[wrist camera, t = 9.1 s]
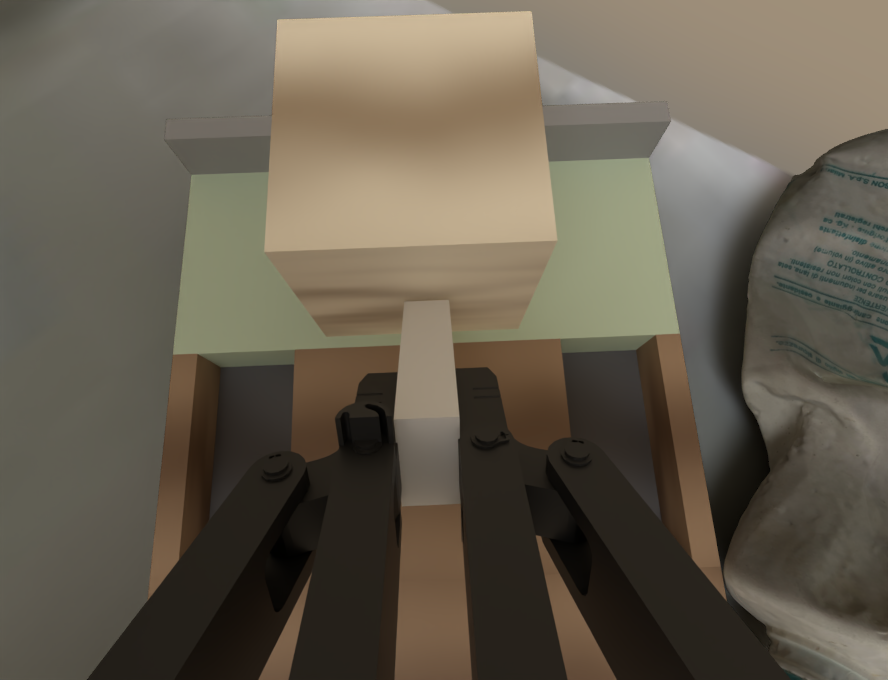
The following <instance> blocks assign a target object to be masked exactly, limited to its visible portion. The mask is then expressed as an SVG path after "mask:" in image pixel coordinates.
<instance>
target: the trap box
mask: <svg viewBox="0 0 888 680" xmlns="http://www.w3.org/2000/svg"><path fill="white" fill-rule="evenodd" d="M453 350H454V361H455V368H478V367H488V368H489V369H490V370H491V371H492V372H493V373H494V374H495V375H496V376H497V380H498V385H499V390H500V394H501V399H502V404H503V408H504V413H505V418H506V422H507V427H508V430H509V431H510V432H511V433H512V435H513V437H514V439H516V440H517V441H519V442H520V443H522V444H524V445H527V446H530V447H534V448H538V449H544V450H548V447H549V446H550V445H551V444H552V443H553V442H554V441H556V440H559V439H561V438H568V437H576V438H582V439H586V440H588V441H591V442H593V443H595V444H596V445H597V446H599V447H600V448H601V449H602V450H603V451H604V452H605V453H606V455H607V456H608V457H609V458H610V460H611V461H612V462H613V463H614V464H615V466H616V467H617V468H618V469H619V471H620V472H621V473H622V474H623V475H624V477H625V478H626V479H627V480H628V481H629V483H630V484H631V485H632V486H633V488H634V489H635V490H636V491H637V492H638V494H639V495H640V496H641V497H642V499H643V500H644V501H645V502H646V503H647V505H648V506H649V507H650V508H651V510H652V511H653V512H654V513H655V514H656V516H657V517H658V518H659V519H660V520H661V522H662V523H663V524H664V525H665V527H666V528H667V529H668V530H669V531H670V533H671V534H672V535H673V536H674V538H675V539H676V540H677V541H678V542H679V544H680V545H681V546H682V547H683V549H684V550H685V551H686V552H687V553H688V555H689V556H690V557H691V558H692V559H693V561H694V562H695V563H696V564H697V566H698V567H699V568H700V569H701V570H702V572H703V573H704V574H705V575H706V577H707V578H708V579H709V580H710V581H711V583H712V584H713V585H714V586H715V587H716V589H717V590H718V591H719V592H720V594H721V595H722V596H723V597H724V598H725V600H726V594H725V588H724V583H723V577H722V571H721V566H720V560H719V554H718V548H717V543H716V537H715V531H714V526H713V520H712V514H711V509H710V503H709V497H708V492H707V486H706V480H705V474H704V469H703V463H702V457H701V452H700V446H699V440H698V435H697V429H696V423H695V418H694V412H693V406H692V401H691V395H690V389H689V383H688V378H687V372H686V366H685V361H684V355H683V349H682V344H681V338H680V334H661V335H660V334H659V335H655V336H654V337H652V338H651V339H650V340H648V341H647V342H646V343H644V344H643V345H642V346H640V347H639V348H638V349H637V350H623V351H599V352H575V353H562V350H561V341H560V339H537V340H515V341H514V340H513V341H490V342H465V343H453ZM399 354H400V345H393V346H369V347H344V348H320V349H296V350H295V357H294V364H288V365H264V366H240V367H219V366H218V365H216V364H214V363H213V362H211V361H209V360H207V359H206V358H204V357H202V356H200V355H199V354H175V355H173V359H172V369H171V379H170V388H169V398H168V408H167V417H166V427H165V437H164V446H163V456H162V466H161V475H160V485H159V495H158V504H157V514H156V524H155V533H154V543H153V553H152V562H151V572H150V582H149V591H148V600H149V598H150V597H151V596H152V594H153V593H154V592H155V590H156V589H157V588H158V586H159V585H160V584H161V583H162V581H163V580H164V579H165V577H166V576H167V575H168V573H169V572H170V571H171V570H172V568H173V567H174V566H175V564H176V563H177V562H178V560H179V559H180V558H181V557H182V555H183V554H184V553H185V551H186V550H187V549H188V547H189V546H190V545H191V543H192V542H193V541H194V540H195V538H196V537H197V536H198V534H199V533H200V532H201V530H202V529H203V528H204V527H205V525H206V524H207V523H208V521H209V520H210V519H211V517H212V516H213V515H214V513H215V512H216V511H217V510H218V508H219V507H220V506H221V504H222V503H223V502H224V500H225V499H226V498H227V497H228V495H229V494H230V493H231V491H232V490H233V489H234V487H235V486H236V485H237V484H238V482H239V481H240V480H241V478H242V477H243V476H244V474H245V473H246V472H247V470H248V469H249V468H250V467H251V466H252V465H253V464H254V463H255V462H256V461H257V460H258V459H260V458H262V457H264V456H266V455H268V454H271V453H275V452H279V451H291V452H295V453H298V454H300V455H301V456H302V457H303V458H304V459H305V462H310V461H314V460H317V459H321V458H324V457H326V456H329V455H331V454H333V453H334V452H336V451H337V450H338V449H339V443H338V436H337V430H336V424H335V417H336V415H337V413H338V412H339V411H340V410H342V409H343V408H344V407H345V406H348V405H350V404H353V403H355V399H356V396H357V389H358V385H359V382H360V381H361V380H362V379H363V378H364V377H365V376H366V375H367V374H368V373H388V372H398V365H399ZM401 517H402V535H401V556H400V577H399V598H398V619H397V639H396V660H395V680H472V672H471V657H470V643H469V628H468V614H467V599H466V585H465V570H464V556H463V542H462V540H461V504H445V505H423V506H402V503H401ZM536 539H537V543H538V548H539V552H540V557H541V561H542V566H543V570H544V575H545V579H546V584H547V588H548V593H549V597H550V602H551V606H552V611H553V616H554V620H555V625H556V629H557V634H558V638H559V643H560V647H561V652H562V656H563V661H564V665H565V670H566V674H567V679H568V680H617V679H616V677H615V676H614V674H613V672H612V670H611V668H610V666H609V664H608V663H607V661H606V659H605V657H604V655H603V653H602V651H601V650H600V648H599V646H598V644H597V642H596V640H595V639H594V637H593V635H592V633H591V631H590V629H589V627H588V626H587V624H586V622H585V620H584V618H583V616H582V614H581V613H580V611H579V609H578V607H577V605H576V603H575V602H574V600H573V598H572V596H571V594H570V592H569V590H568V589H567V587H566V585H565V583H564V581H563V579H562V577H561V576H560V574H559V572H558V570H557V568H556V566H555V565H554V563H553V561H552V559H551V557H550V555H549V553H548V552H547V550H546V548H545V546H544V544H543V542H542V538H541V536H537V535H536ZM311 574H312V573H311ZM310 578H311V575H310V577H309V579H308V581H307V583H306V585H305V587H304V589H303V591H302V593H301V595H300V597H299V599H298V601H297V603H296V605H295V607H294V609H293V611H292V613H291V615H290V617H289V619H288V621H287V623H286V625H285V627H284V629H283V631H282V633H281V635H280V637H279V639H278V641H277V643H276V645H275V647H274V649H273V651H272V653H271V655H270V657H269V659H268V661H267V663H266V665H265V667H264V669H263V671H262V673H261V675H260V677H259V679H258V680H289V675H290V670H291V666H292V661H293V656H294V652H295V647H296V643H297V638H298V633H299V629H300V624H301V620H302V615H303V610H304V606H305V601H306V597H307V592H308V587H309V583H310ZM726 601H727V600H726Z"/></svg>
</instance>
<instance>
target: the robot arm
mask: <svg viewBox="0 0 888 680" xmlns="http://www.w3.org/2000/svg"><path fill="white" fill-rule="evenodd" d="M335 424H336V430H337V436H338V443H339V449H338V450H337V451H336V452H334V453H333V454H331V455H329V456H326V457H324V458H321V459H317V460H314V461H310V462H305V459H304V458H303V457H302V456H301V455H300V454H298V453H295V452H291V451H279V452H275V453H271V454H268V455H266V456H264V457H262V458H260V459H258V460H257V461H256V462H255V463H254V464H253V465H252V466H251V467H250V468H249V469H248V470H247V472H246V473H245V474H244V476H243V477H242V478H241V480H240V481H239V482H238V484H237V485H236V486H235V487H234V489H233V490H232V491H231V493H230V494H229V495H228V497H227V498H226V499H225V500H224V502H223V503H222V504H221V506H220V507H219V508H218V510H217V511H216V512H215V513H214V515H213V516H212V517H211V519H210V520H209V521H208V523H207V524H206V525H205V527H204V528H203V529H202V530H201V532H200V533H199V534H198V536H197V537H196V538H195V540H194V541H193V542H192V543H191V545H190V546H189V547H188V549H187V550H186V551H185V553H184V554H183V555H182V557H181V558H180V559H179V560H178V562H177V563H176V564H175V566H174V567H173V568H172V570H171V571H170V572H169V573H168V575H167V576H166V577H165V579H164V580H163V581H162V583H161V584H160V585H159V586H158V588H157V589H156V590H155V592H154V593H153V594H152V596H151V597H150V598H149V600H148V601H147V602H146V603H145V605H144V606H143V607H142V609H141V610H140V611H139V613H138V614H137V615H136V616H135V618H134V619H133V620H132V622H131V623H130V624H129V626H128V627H127V628H126V630H125V631H124V632H123V633H122V635H121V636H120V637H119V639H118V640H117V641H116V643H115V644H114V645H113V646H112V648H111V649H110V650H109V652H108V653H107V654H106V656H105V657H104V658H103V660H102V661H101V662H100V663H99V665H98V666H97V667H96V669H95V670H94V671H93V673H92V674H91V675H90V676H89V678H88V679H87V680H258V679H259V677H260V675H261V673H262V671H263V669H264V667H265V665H266V663H267V661H268V659H269V657H270V655H271V653H272V651H273V649H274V647H275V645H276V643H277V641H278V639H279V637H280V635H281V633H282V631H283V629H284V627H285V625H286V623H287V621H288V619H289V617H290V615H291V613H292V611H293V609H294V607H295V605H296V603H297V601H298V599H299V597H300V595H301V593H302V591H303V589H304V587H305V585H306V583H307V581H308V579H309V577H310V575H311V578H310V583H309V587H308V592H307V597H306V601H305V606H304V610H303V615H302V620H301V624H300V629H299V633H298V638H297V643H296V647H295V652H294V656H293V661H292V666H291V670H290V675H289V680H395V660H396V639H397V619H398V598H399V577H400V556H401V535H402V517H401V503H402V506H423V505H445V504H461V540H462V542H463V556H464V570H465V585H466V599H467V614H468V628H469V643H470V657H471V672H472V680H568V679H567V674H566V670H565V665H564V661H563V656H562V652H561V647H560V643H559V638H558V634H557V629H556V625H555V620H554V616H553V611H552V606H551V602H550V597H549V593H548V588H547V584H546V579H545V575H544V570H543V566H542V561H541V557H540V552H539V548H538V543H537V539H536V535H537V536H541V538H542V542H543V544H544V546H545V548H546V550H547V552H548V553H549V555H550V557H551V559H552V561H553V563H554V565H555V566H556V568H557V570H558V572H559V574H560V576H561V577H562V579H563V581H564V583H565V585H566V587H567V589H568V590H569V592H570V594H571V596H572V598H573V600H574V602H575V603H576V605H577V607H578V609H579V611H580V613H581V614H582V616H583V618H584V620H585V622H586V624H587V626H588V627H589V629H590V631H591V633H592V635H593V637H594V639H595V640H596V642H597V644H598V646H599V648H600V650H601V651H602V653H603V655H604V657H605V659H606V661H607V663H608V664H609V666H610V668H611V670H612V672H613V674H614V676H615V677H616V679H617V680H791V679H790V678H789V676H788V675H787V674H786V673H785V672H784V670H783V669H782V668H781V667H780V665H779V664H778V663H777V662H776V661H775V659H774V658H773V657H772V656H771V655H770V653H769V652H768V651H767V650H766V648H765V647H764V646H763V645H762V644H761V642H760V641H759V640H758V639H757V637H756V636H755V635H754V634H753V633H752V631H751V630H750V629H749V628H748V626H747V625H746V624H745V623H744V622H743V620H742V619H741V618H740V617H739V616H738V614H737V613H736V612H735V611H734V609H733V608H732V607H731V606H730V605H729V603H728V602H727V601H726V600H725V598H724V597H723V596H722V595H721V594H720V592H719V591H718V590H717V589H716V587H715V586H714V585H713V584H712V583H711V581H710V580H709V579H708V578H707V577H706V575H705V574H704V573H703V572H702V570H701V569H700V568H699V567H698V566H697V564H696V563H695V562H694V561H693V559H692V558H691V557H690V556H689V555H688V553H687V552H686V551H685V550H684V549H683V547H682V546H681V545H680V544H679V542H678V541H677V540H676V539H675V538H674V536H673V535H672V534H671V533H670V531H669V530H668V529H667V528H666V527H665V525H664V524H663V523H662V522H661V520H660V519H659V518H658V517H657V516H656V514H655V513H654V512H653V511H652V510H651V508H650V507H649V506H648V505H647V503H646V502H645V501H644V500H643V499H642V497H641V496H640V495H639V494H638V492H637V491H636V490H635V489H634V488H633V486H632V485H631V484H630V483H629V481H628V480H627V479H626V478H625V477H624V475H623V474H622V473H621V472H620V471H619V469H618V468H617V467H616V466H615V464H614V463H613V462H612V461H611V460H610V458H609V457H608V456H607V455H606V453H605V452H604V451H603V450H602V449H601V448H600V447H599V446H597V445H596V444H595V443H593V442H591V441H588V440H586V439H582V438H576V437H568V438H561V439H559V440H556V441H554V442H553V443H552V444H551V445H550V446H549V447H548V450H544V449H538V448H534V447H530V446H527V445H524V444H522V443H520V442H519V441H517V440H516V439H514V437H513V435H512V433H511V432H510V431H509V430H508V427H507V422H506V418H505V413H504V408H503V404H502V399H501V394H500V390H499V385H498V380H497V376H496V375H495V374H494V373H493V372H492V371H491V370H490V369H489V368H488V367H478V368H455V361H454V350H453V339H452V328H451V316H450V305H449V300H431V301H406V302H404V310H403V321H402V332H401V343H400V354H399V365H398V372H388V373H368V374H367V375H366V376H365V377H364V378H363V379H362V380H361V381H360V382H359V385H358V389H357V396H356V399H355V403H353V404H350V405H348V406H345V407H344V408H343V409H342V410H340V411H339V412H338V413H337V415H336V417H335ZM311 573H312V574H311Z"/></svg>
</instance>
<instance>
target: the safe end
mask: <svg viewBox="0 0 888 680" xmlns="http://www.w3.org/2000/svg"><path fill="white" fill-rule="evenodd" d="M542 108H543V117H544V126H545V135H546V143H547V152H548V161H549V170H550V178H551V187H552V196H553V205H554V214H555V222H556V231H557V240H558V241H557V243H556V245H555V248H554V250H553V252H552V254H551V256H550V259H549V261H548V263H547V265H546V268H545V270H544V272H543V274H542V277H541V279H540V281H539V283H538V286H537V288H536V290H535V292H534V295H533V297H532V299H531V301H530V304H529V306H528V308H527V310H526V313H525V315H524V317H523V319H522V322H521V324H520V326H519V328H518V329H504V330H480V331H455V332H452V339H453V343H465V342H490V341H513V340H514V341H515V340H537V339H560V341H561V350H562V353H575V352H599V351H623V350H637V349H638V348H639V347H640V346H642V345H643V344H644V343H646V342H647V341H648V340H650V339H651V338H652V337H654V336H655V335H659V334H660V335H661V334H680V332H679V327H678V321H677V315H676V310H675V304H674V298H673V292H672V287H671V281H670V275H669V270H668V264H667V258H666V253H665V247H664V241H663V236H662V230H661V224H660V218H659V213H658V207H657V201H656V196H655V190H654V184H653V179H652V173H651V167H650V162H649V157H650V155H651V153H652V152H653V150H654V149H655V147H656V145H657V144H658V142H659V140H660V139H661V137H662V135H663V134H664V132H665V130H666V129H667V127H668V125H669V124H670V122H671V119H670V114H669V108H668V103H667V101H663V102H633V103H605V104H577V105H549V106H542ZM271 124H272V115H269V116H241V117H213V118H185V119H166V128H165V136H164V140H165V142H166V143H167V144H168V145H169V147H170V148H171V149H172V150H173V152H174V153H175V154H176V156H177V157H178V158H179V159H180V161H181V162H182V163H183V165H184V166H185V167H186V168H187V170H188V171H189V172H190V173H191V175H192V176H191V185H190V195H189V205H188V214H187V224H186V234H185V243H184V253H183V263H182V272H181V282H180V292H179V301H178V311H177V321H176V330H175V340H174V350H173V355H175V354H199V355H200V356H202V357H204V358H206V359H207V360H209V361H211V362H213V363H214V364H216V365H218V366H219V367H240V366H264V365H288V364H294V357H295V350H296V349H320V348H344V347H369V346H393V345H400V343H401V334H382V335H358V336H333V337H326V336H325V334H324V333H323V332H322V330H321V329H320V327H319V326H318V325H317V323H316V322H315V321H314V319H313V318H312V317H311V315H310V314H309V312H308V311H307V310H306V308H305V307H304V306H303V304H302V303H301V302H300V300H299V299H298V297H297V296H296V295H295V293H294V292H293V291H292V289H291V288H290V287H289V285H288V284H287V282H286V281H285V280H284V278H283V277H282V276H281V274H280V273H279V272H278V270H277V269H276V267H275V266H274V265H273V263H272V262H271V261H270V259H269V258H268V257H267V255H266V254H265V252H264V246H265V229H266V211H267V194H268V176H269V159H270V141H271Z"/></svg>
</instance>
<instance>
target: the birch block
mask: <svg viewBox="0 0 888 680" xmlns="http://www.w3.org/2000/svg"><path fill="white" fill-rule="evenodd" d="M557 241H558V240H557V231H556V222H555V214H554V205H553V196H552V187H551V178H550V170H549V161H548V152H547V143H546V135H545V126H544V117H543V108H542V100H541V91H540V82H539V73H538V64H537V56H536V47H535V38H534V30H533V21H532V12H531V11H524V12H493V13H462V14H432V15H402V16H372V17H342V18H312V19H282V20H277V36H276V53H275V71H274V89H273V106H272V124H271V141H270V159H269V176H268V194H267V211H266V229H265V246H264V252H265V254H266V255H267V257H268V258H269V259H270V261H271V262H272V263H273V265H274V266H275V267H276V269H277V270H278V272H279V273H280V274H281V276H282V277H283V278H284V280H285V281H286V282H287V284H288V285H289V287H290V288H291V289H292V291H293V292H294V293H295V295H296V296H297V297H298V299H299V300H300V302H301V303H302V304H303V306H304V307H305V308H306V310H307V311H308V312H309V314H310V315H311V317H312V318H313V319H314V321H315V322H316V323H317V325H318V326H319V327H320V329H321V330H322V332H323V333H324V334H325V336H326V337H333V336H358V335H382V334H401V332H402V321H403V310H404V302H406V301H431V300H449V305H450V316H451V328H452V332H455V331H480V330H504V329H518V328H519V326H520V324H521V322H522V319H523V317H524V315H525V313H526V310H527V308H528V306H529V304H530V301H531V299H532V297H533V295H534V292H535V290H536V288H537V286H538V283H539V281H540V279H541V277H542V274H543V272H544V270H545V268H546V265H547V263H548V261H549V259H550V256H551V254H552V252H553V250H554V248H555V245H556V243H557Z"/></svg>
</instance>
